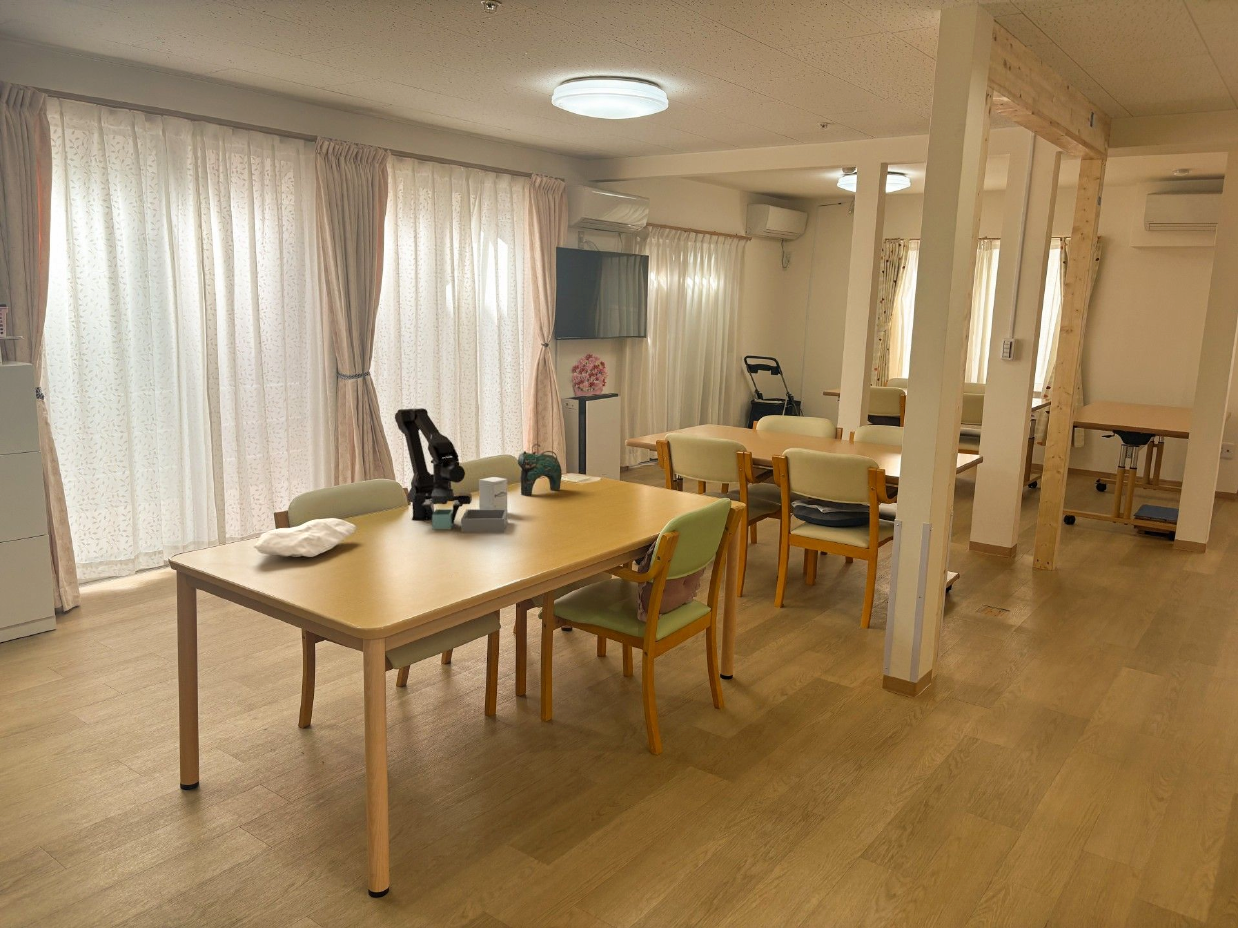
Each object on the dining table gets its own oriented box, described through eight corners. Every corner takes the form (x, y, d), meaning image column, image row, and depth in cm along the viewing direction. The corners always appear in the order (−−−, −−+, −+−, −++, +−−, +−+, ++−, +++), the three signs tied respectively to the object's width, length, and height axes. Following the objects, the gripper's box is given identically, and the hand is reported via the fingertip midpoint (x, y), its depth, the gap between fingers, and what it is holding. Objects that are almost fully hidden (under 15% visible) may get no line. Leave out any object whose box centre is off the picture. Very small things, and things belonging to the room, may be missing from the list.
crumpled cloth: (225, 555, 255) (225, 525, 253) (320, 528, 285) (322, 502, 283) (279, 579, 245) (281, 549, 242) (373, 549, 274) (375, 522, 272)
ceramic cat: (524, 497, 343) (523, 446, 340) (514, 494, 348) (514, 444, 344) (564, 490, 356) (564, 441, 353) (554, 488, 361) (554, 440, 357)
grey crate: (461, 532, 289) (461, 519, 288) (466, 522, 303) (466, 509, 302) (504, 532, 290) (504, 519, 289) (507, 522, 303) (507, 509, 303)
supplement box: (493, 516, 311) (493, 481, 309) (478, 513, 315) (478, 479, 313) (508, 513, 317) (507, 478, 314) (493, 510, 321) (493, 476, 319)
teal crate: (432, 529, 292) (432, 514, 292) (436, 523, 300) (436, 509, 299) (450, 529, 293) (450, 514, 292) (454, 523, 301) (453, 509, 300)
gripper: (409, 482, 285) (411, 529, 288) (467, 482, 286) (468, 529, 289) (415, 476, 296) (417, 521, 299) (471, 476, 297) (472, 521, 300)
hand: (443, 523), depth 296 cm, fingers closed on teal crate, 6 cm apart
